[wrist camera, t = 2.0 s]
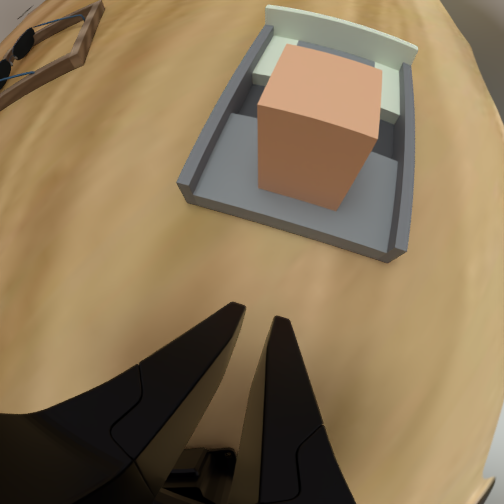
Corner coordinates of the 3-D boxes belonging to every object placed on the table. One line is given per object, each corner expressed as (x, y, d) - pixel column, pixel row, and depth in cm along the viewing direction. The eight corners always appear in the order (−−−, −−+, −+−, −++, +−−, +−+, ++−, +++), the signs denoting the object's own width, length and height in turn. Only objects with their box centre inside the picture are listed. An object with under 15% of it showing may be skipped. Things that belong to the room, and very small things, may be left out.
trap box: (387, 263, 22) (423, 240, 16) (186, 202, 24) (166, 164, 18) (401, 80, 28) (417, 46, 22) (267, 42, 29) (267, 4, 24)
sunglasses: (36, 41, 35) (29, 25, 30) (91, 29, 36) (85, 10, 32) (-7, 100, 31) (-19, 84, 26) (46, 90, 32) (35, 69, 27)
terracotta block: (336, 211, 21) (377, 139, 12) (258, 188, 22) (257, 104, 13) (348, 149, 22) (382, 70, 14) (279, 129, 23) (286, 43, 14)
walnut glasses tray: (83, 64, 30) (77, 53, 28) (-22, 126, 29) (-29, 119, 27) (104, 8, 36) (101, -1, 34) (12, 57, 35) (7, 50, 33)
